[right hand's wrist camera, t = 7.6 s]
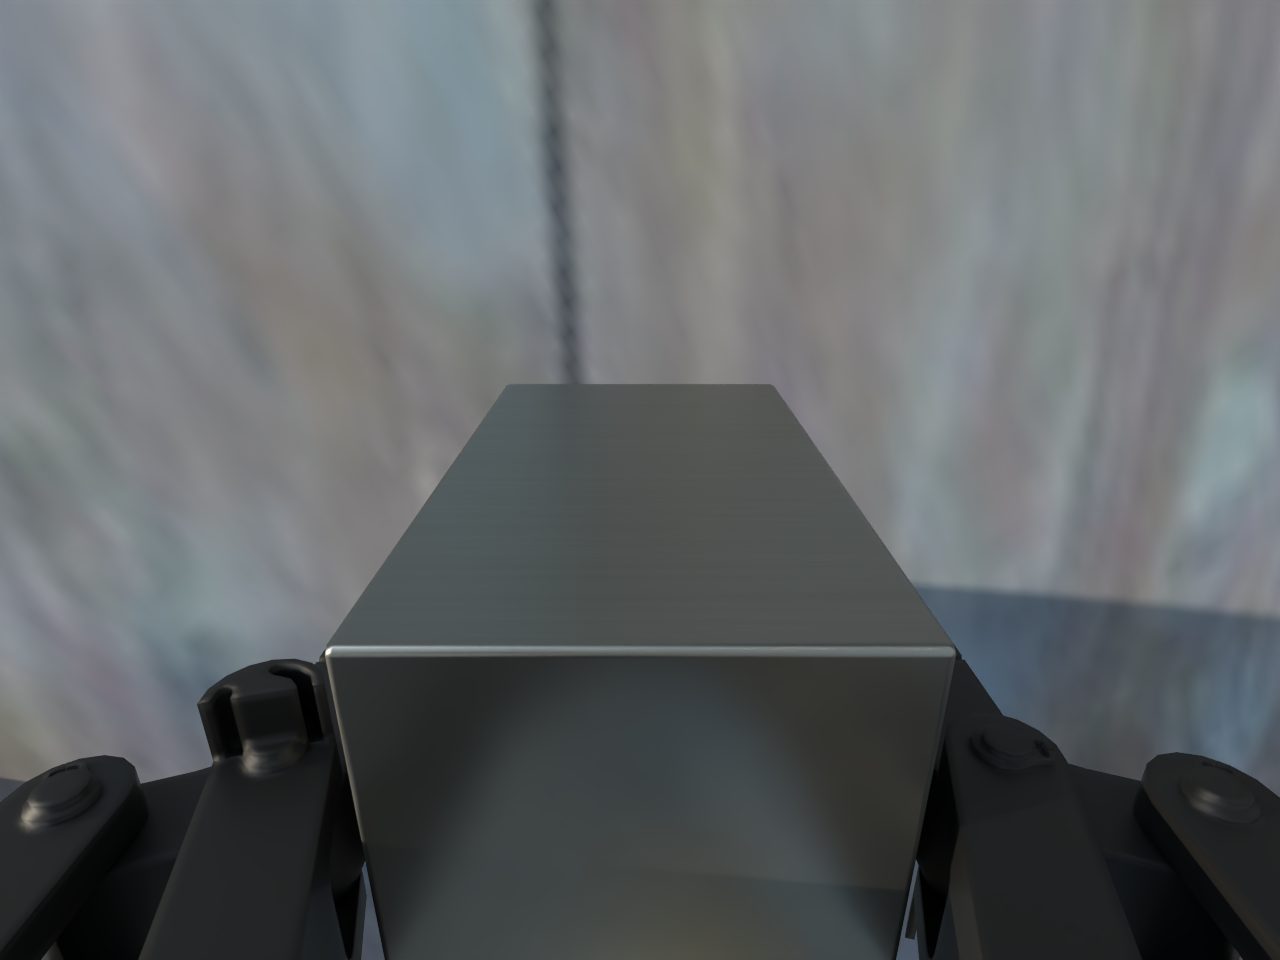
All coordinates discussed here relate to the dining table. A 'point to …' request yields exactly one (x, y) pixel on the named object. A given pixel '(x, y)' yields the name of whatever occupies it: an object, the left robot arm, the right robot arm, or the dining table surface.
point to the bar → (640, 693)
